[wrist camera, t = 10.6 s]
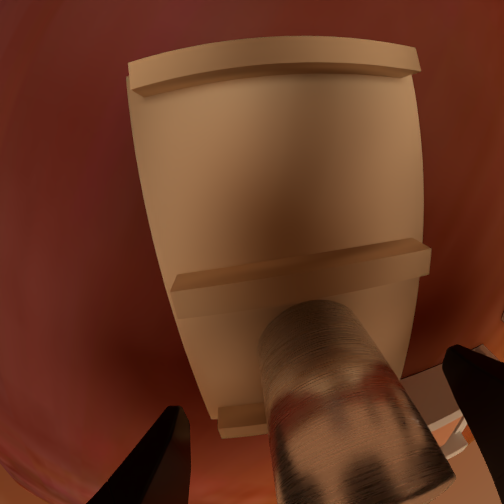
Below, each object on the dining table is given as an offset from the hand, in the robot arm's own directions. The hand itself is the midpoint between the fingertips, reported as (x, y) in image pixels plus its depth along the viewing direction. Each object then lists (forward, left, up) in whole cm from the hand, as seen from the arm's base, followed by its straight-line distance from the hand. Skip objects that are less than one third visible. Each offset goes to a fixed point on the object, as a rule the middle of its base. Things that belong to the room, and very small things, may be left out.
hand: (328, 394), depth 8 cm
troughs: (0, -3, -4) cm, 5 cm away
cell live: (0, 0, -2) cm, 2 cm away
